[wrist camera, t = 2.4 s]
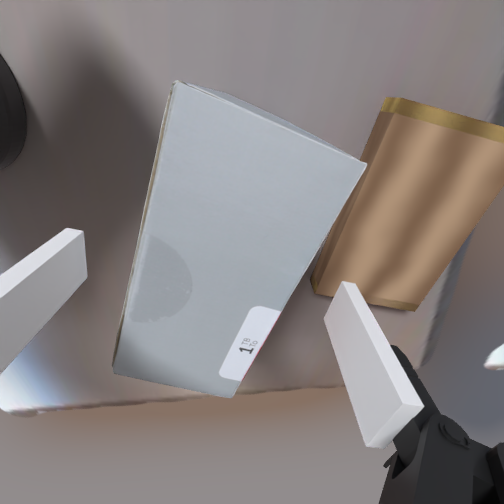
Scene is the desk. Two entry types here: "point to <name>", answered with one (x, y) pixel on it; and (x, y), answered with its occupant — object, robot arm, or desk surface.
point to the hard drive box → (223, 238)
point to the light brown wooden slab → (411, 203)
